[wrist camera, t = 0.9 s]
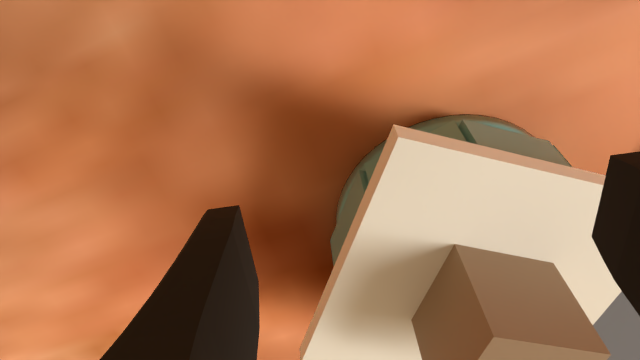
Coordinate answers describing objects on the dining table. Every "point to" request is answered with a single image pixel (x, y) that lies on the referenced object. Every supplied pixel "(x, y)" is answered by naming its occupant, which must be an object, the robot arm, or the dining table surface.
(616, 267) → the robot arm
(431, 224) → the cover
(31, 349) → the dining table surface
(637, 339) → the mat
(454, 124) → the bowl
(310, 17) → the dining table surface
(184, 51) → the dining table surface
